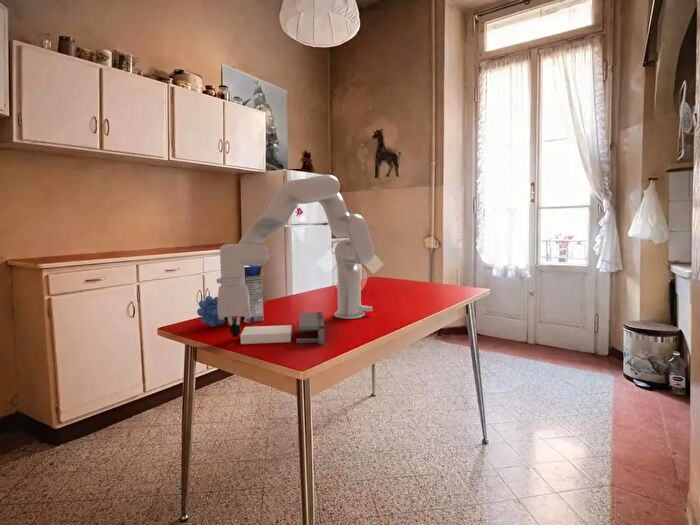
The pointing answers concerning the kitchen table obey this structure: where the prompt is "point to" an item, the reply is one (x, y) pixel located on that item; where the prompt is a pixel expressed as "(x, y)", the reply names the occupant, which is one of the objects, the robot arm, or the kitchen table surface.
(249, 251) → the robot arm
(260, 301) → the beverage box
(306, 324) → the overhang bracket
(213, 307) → the grapes
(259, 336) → the white thin flat slab
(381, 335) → the kitchen table surface
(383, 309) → the kitchen table surface
